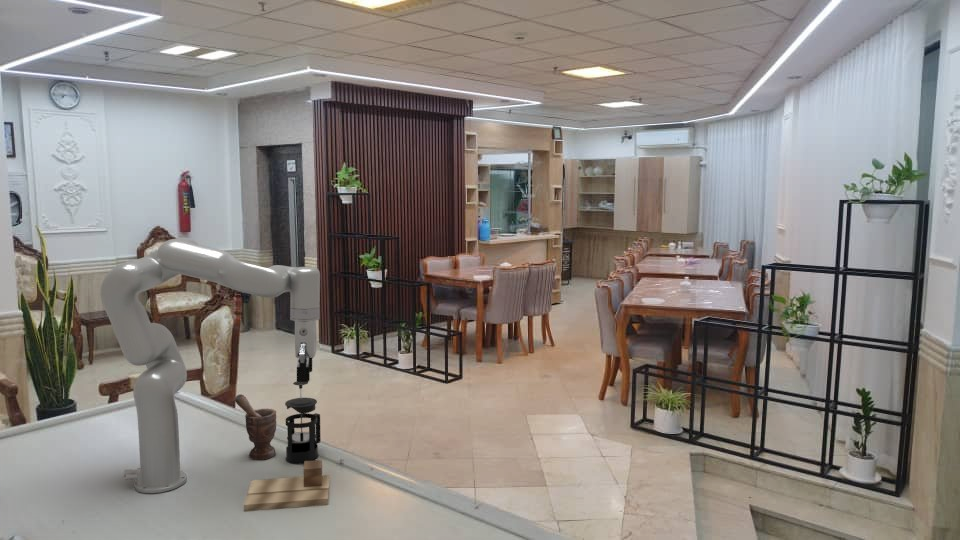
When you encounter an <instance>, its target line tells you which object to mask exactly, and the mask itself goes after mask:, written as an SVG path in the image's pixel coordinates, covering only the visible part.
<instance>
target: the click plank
mask: <svg viewBox="0 0 960 540" xmlns="http://www.w3.org/2000/svg"><path fill="white" fill-rule="evenodd" d="M326 488H329V489H330V474H322V486H313V487H304V476H297V477H295V476H294V477H282V478H281V477H280V478H278V477H277V478H267V479H266V478H264V479H252V480H251V481H250V484H249V488H248V491H247V494H258V493H271V492H285V491H299V490H312V489H326Z"/></svg>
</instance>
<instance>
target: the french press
mask: <svg viewBox="0 0 960 540" xmlns="http://www.w3.org/2000/svg"><path fill="white" fill-rule="evenodd" d="M292 384H293V385H295V386H298V387H299V395H300V396H299V397H296V398H291V399H289V400H286V401H285V403H284V405H285V407H286V409H287V410H290V408H291V409H292V410H294V411H296V412H297V413H296V414H292V415H288V416H287V417H286V418H285V426H287V437H286V440H287V446H286V447H285V452H286V455H285V461H286V462H287V463H289V464H292V465H304V461H314V460H316V459H317V460H319V455H318V454H319V447H318V444H320V443H321V442H322V441H321V414H320V413H316V412H315V413H311V412H314V411H315V410H316V404H317V402H318V400H317V399H315V398H312V397H302V392H303V391H302V390H303V386H305V385H308V384H309V382H297V380H296V381H294V382H293V383H292ZM296 419H297V420H298V419H300V422H299V423H295V420H296ZM303 419H310V421H308V422H303ZM305 428H308V431H303V429H305ZM295 429H300V432H296V431H295Z"/></svg>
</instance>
